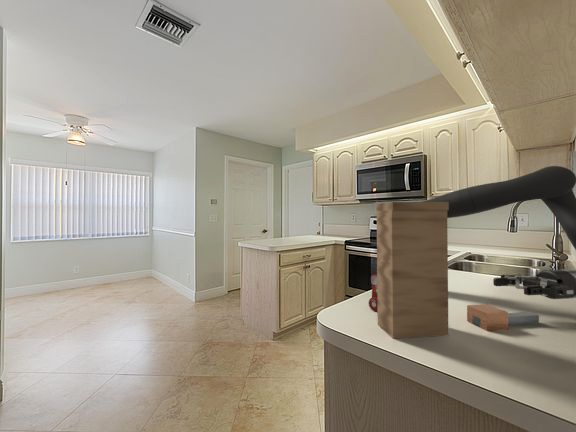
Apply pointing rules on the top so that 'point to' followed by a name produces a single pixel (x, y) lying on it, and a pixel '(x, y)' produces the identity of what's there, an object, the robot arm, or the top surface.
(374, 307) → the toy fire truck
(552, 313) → the top surface
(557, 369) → the top surface
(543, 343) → the top surface
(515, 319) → the orange and gray block
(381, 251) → the walnut pedestal
